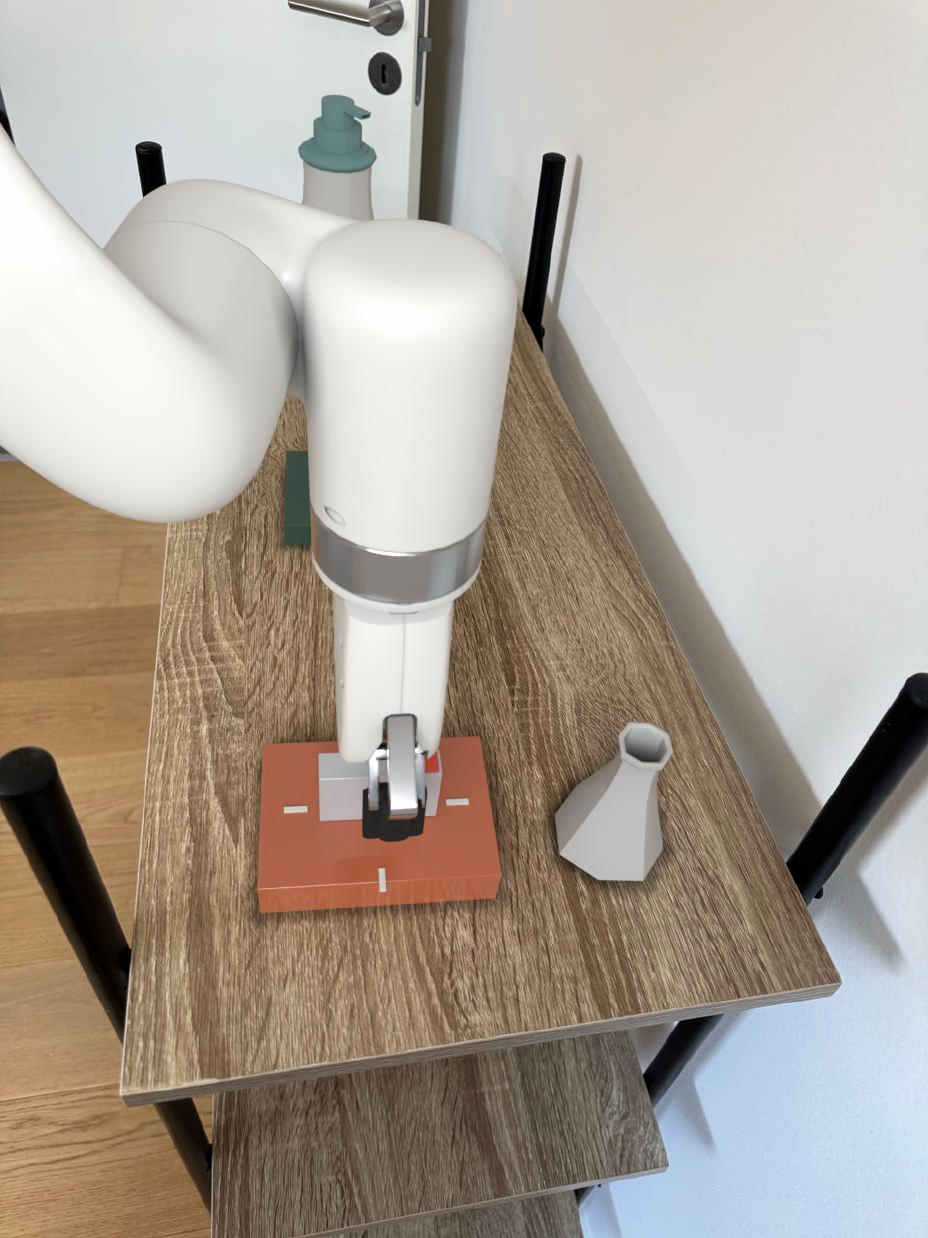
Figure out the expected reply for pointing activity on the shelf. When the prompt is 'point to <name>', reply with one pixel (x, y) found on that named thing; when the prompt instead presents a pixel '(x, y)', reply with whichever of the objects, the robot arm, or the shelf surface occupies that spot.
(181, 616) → the shelf surface
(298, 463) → the button block
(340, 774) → the tap handle
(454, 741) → the panel
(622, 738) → the flask
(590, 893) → the shelf surface
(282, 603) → the shelf surface
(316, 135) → the soap bottle
